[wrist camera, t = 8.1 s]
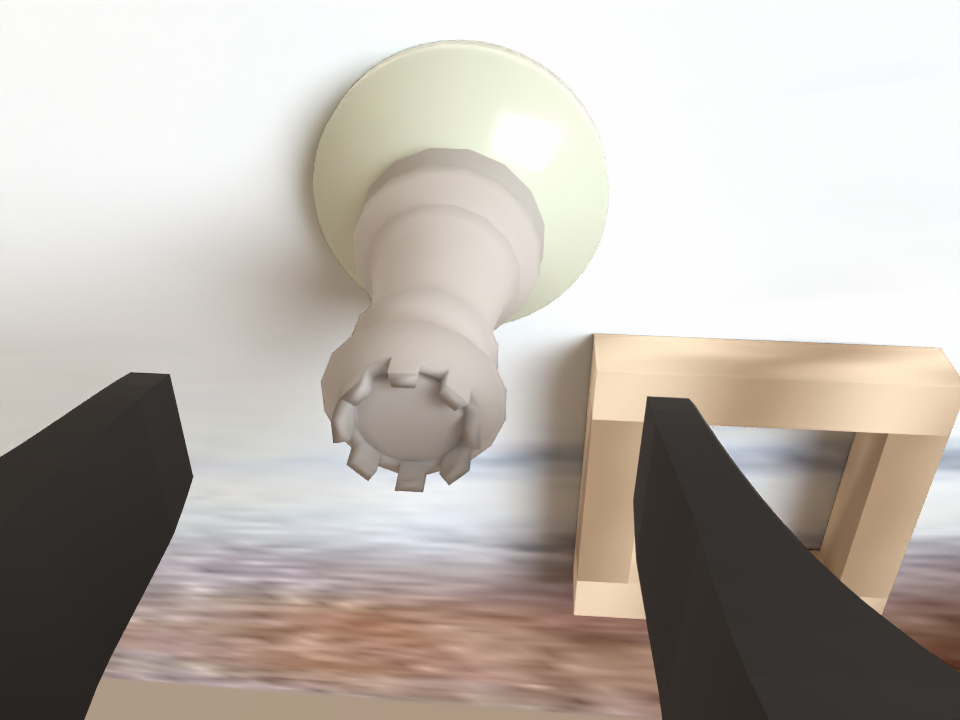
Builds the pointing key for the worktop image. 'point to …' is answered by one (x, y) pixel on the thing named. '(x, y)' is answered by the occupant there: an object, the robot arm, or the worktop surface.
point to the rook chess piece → (432, 314)
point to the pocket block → (769, 404)
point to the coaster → (469, 146)
